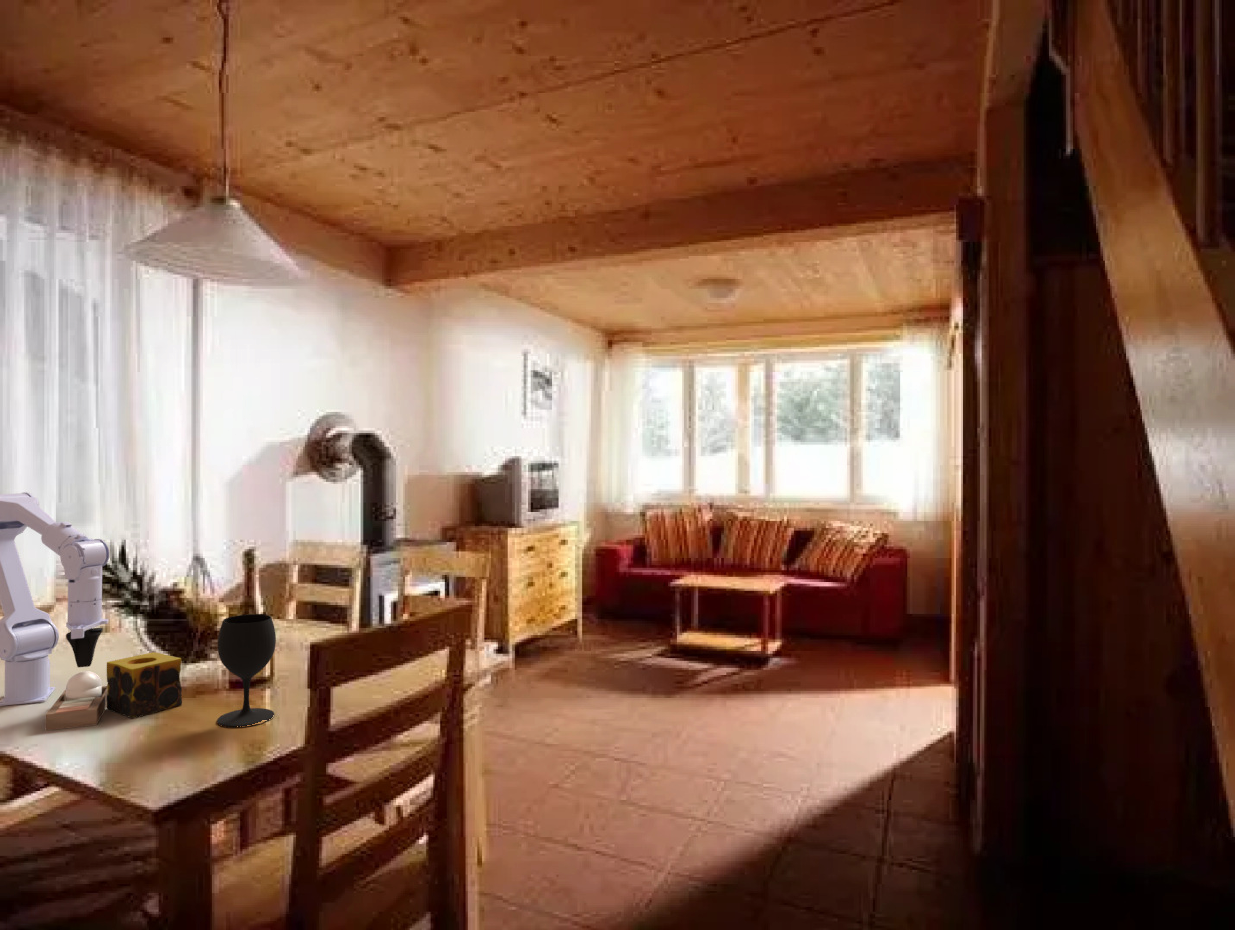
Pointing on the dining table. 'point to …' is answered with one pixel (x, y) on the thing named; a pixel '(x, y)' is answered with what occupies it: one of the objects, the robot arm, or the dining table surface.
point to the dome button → (84, 686)
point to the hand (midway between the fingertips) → (84, 666)
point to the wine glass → (246, 660)
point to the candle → (143, 684)
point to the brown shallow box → (76, 711)
